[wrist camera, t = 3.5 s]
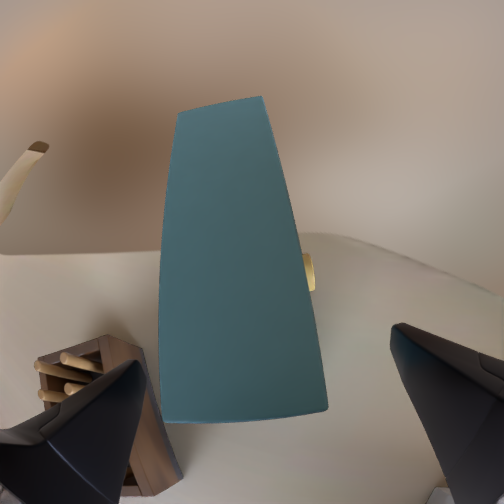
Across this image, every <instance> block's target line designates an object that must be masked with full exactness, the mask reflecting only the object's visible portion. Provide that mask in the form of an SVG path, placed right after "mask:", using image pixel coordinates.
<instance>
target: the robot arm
mask: <svg viewBox="0 0 504 504" xmlns="http://www.w3.org/2000/svg"><path fill="white" fill-rule="evenodd" d="M390 350H391V353H392V355H393V358H394V361H395V363H396V366H397V369H398V371H399V374H400V377H401V380H402V382H403V385H404V387H405V389H406V391H407V393H408V395H409V397H410V399H411V401H412V403H413V405H414V407H415V409H416V412H417V414H418V416H419V418H420V420H421V422H422V424H423V427H424V429H425V431H426V433H427V435H428V438H429V440H430V442H431V444H432V447H433V449H434V451H435V454H436V456H437V459H438V461H439V463H440V466H441V468H442V471H443V473H444V476H445V477H446V481H447V484H448V487H449V489H450V492H451V495H452V498H453V500H454V503H455V504H497V503H498V504H504V361H503V360H499V359H496V358H493V357H491V356H488V355H485V354H483V353H480V352H479V353H478V352H477V351H475V350H472V349H470V348H467V347H464V346H462V345H459V344H457V343H454V342H452V341H449V340H446V339H444V338H441V337H439V336H436V335H434V334H431V333H428V332H426V331H423V330H421V329H418V328H416V327H413V326H411V325H408V324H406V323H399V324H395V325H393V326H392V328H391V338H390ZM146 386H147V376H146V374H145V372H144V370H143V367H142V365H141V363H140V361H139V360H137V359H128V360H126V361H124V362H123V363H121V364H120V365H118V366H117V367H115V368H114V369H112V370H110V371H109V372H107V373H106V374H104V375H103V376H101V377H99V378H98V379H96V380H95V381H93V382H92V383H90V384H88V385H87V386H85V387H84V388H82V389H80V390H79V391H77V392H76V393H74V394H72V395H71V396H69V397H68V398H66V399H64V400H63V401H62V402H59V403H58V404H56V405H55V406H53V407H51V408H49V409H48V410H46V411H44V412H42V413H41V414H39V415H37V416H35V417H33V418H31V419H29V420H27V421H25V422H23V423H21V424H19V425H17V426H15V427H12V428H9V429H0V504H119V499H120V495H121V491H122V486H123V482H124V478H125V474H126V470H127V466H128V462H129V458H130V454H131V450H132V447H133V443H134V439H135V436H136V432H137V429H138V425H139V422H140V418H141V414H142V409H143V403H144V397H145V391H146Z"/></svg>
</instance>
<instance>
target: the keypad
mask: <svg viewBox="0 0 504 504" xmlns="http://www.w3.org/2000/svg"><path fill="white" fill-rule="evenodd" d="M426 504H455V503H454V500H453V498H452V495H451V492H450V489H449V488H444V487H435V488H434V490H433V492H432V494H431V496H430V498H429V499H428V501H427V503H426ZM497 504H498V503H497Z"/></svg>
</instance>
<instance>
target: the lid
mask: <svg viewBox="0 0 504 504" xmlns="http://www.w3.org/2000/svg"><path fill="white" fill-rule="evenodd" d="M314 289H315V276H314V269H313V264H312V260H311V257H310V255H309V254H308V253H306V254H302V252H301V247H300V243H299V238H298V233H297V229H296V224H295V220H294V216H293V211H292V207H291V203H290V199H289V195H288V190H287V186H286V183H285V178H284V174H283V170H282V166H281V162H280V158H279V155H278V151H277V147H276V143H275V139H274V136H273V132H272V128H271V125H270V122H269V118H268V114H267V110H266V107H265V103H264V100H263V97H262V96H258V97H251V98H245V99H239V100H233V101H229V102H223V103H218V104H214V105H209V106H204V107H200V108H196V109H192V110H188V111H184V112H180V113H178V117H177V122H176V128H175V134H174V140H173V146H172V153H171V160H170V167H169V174H168V182H167V190H166V200H165V209H164V220H163V231H162V245H161V260H160V280H159V324H158V333H159V376H160V396H161V410H162V420H163V422H165V423H192V424H201V423H234V422H249V421H260V420H270V419H279V418H287V417H294V416H301V415H307V414H313V413H318V412H324V411H326V410H328V407H329V406H328V399H327V392H326V385H325V378H324V372H323V365H322V359H321V353H320V347H319V341H318V335H317V329H316V324H315V318H314V312H313V307H312V302H311V296H310V291H313V290H314Z"/></svg>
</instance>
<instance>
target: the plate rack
mask: <svg viewBox="0 0 504 504" xmlns="http://www.w3.org/2000/svg"><path fill="white" fill-rule="evenodd" d="M128 359H137V360H139V361H140V363H141V365H142V367H143V370H144V372H145V374H146V376H147V386H146V391H145V397H144V403H143V409H142V414H141V418H140V422H139V425H138V429H137V432H136V436H135V439H134V443H133V447H132V450H131V454H130V458H129V462H128V466H127V470H126V474H125V478H124V482H123V486H122V491H121V495H120V497H152V496H156V495H158V494H159V493H161V492H163V491H164V490H166V489H168V488H169V487H171V486H173V485H174V484H176V483H177V482H179V481H180V480H182V479H183V475H182V473H181V470H180V468H179V466H178V463H177V461H176V458H175V455H174V453H173V450H172V447H171V445H170V442H169V439H168V436H167V434H166V431H165V428H164V425H163V422H162V419H161V416H160V412H159V409H158V406H157V403H156V399H155V396H154V393H153V389H152V385H151V382H150V378H149V374H148V371H147V367H146V363H145V358H144V354H143V350H142V348H139V347H137V346H134V345H132V344H129V343H127V342H124V341H122V340H120V339H117V338H115V337H113V336H110V335H108V334H107V335H104V336H101V337H98V338H96V339H93V340H90V341H87V342H84V343H81V344H78V345H75V346H72V347H69V348H66V349H63V350H60V351H57V352H54V353H51V354H48V355H45V356H42V357H39V358H38V360H37V361H35V363H34V368H35V370H36V371H38V372H39V376H40V383H41V389H40V390H39V391H38V396H39V398H40V399H41V400H43V402H44V407H45V411H46V410H48V409H49V408H51V407H53V406H55V405H56V404H58V403H59V402H62V401H63V400H64V399H66V398H68V397H69V396H71V395H72V394H74V393H76V392H77V391H79V390H80V389H82V388H84V387H85V386H87V385H88V384H90V383H92V382H93V381H95V380H96V379H98V378H99V377H101V376H103V375H104V374H106V373H107V372H109V371H110V370H112V369H114V368H115V367H117V366H118V365H120V364H121V363H123V362H124V361H126V360H128Z"/></svg>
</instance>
